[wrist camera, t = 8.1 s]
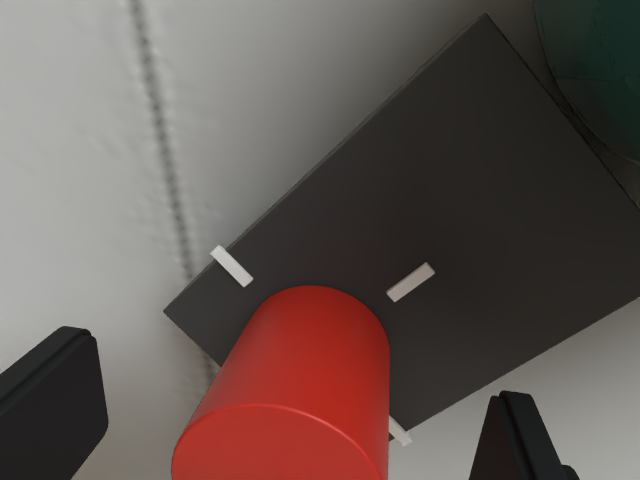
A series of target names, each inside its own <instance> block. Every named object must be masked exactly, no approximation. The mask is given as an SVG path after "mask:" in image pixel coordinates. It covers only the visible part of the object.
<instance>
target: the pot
mask: <svg viewBox="0 0 640 480" xmlns="http://www.w3.org/2000/svg"><path fill="white" fill-rule="evenodd" d="M533 1H534V8H535V15H536V22H537V29H538V33H539V36H540V40H541V43H542V47H543V50H544V53H545V57H546V60H547V63H548V65H549V67H550V69H551V72H552V74H553V76H554V78H555V80H556V82H557V85H558V87H559V89H560V91H561V92H562V94H563V95H564V97H565V98H566V100H567V101H568V103H569V104H570V106H571V107H572V109H573V110H574V112H575V113H576V115H577V116H578V117H579V118H580V119H581V120H582V121H583V122H584V124H585V125H586V126H587V127H588V128H589V129H590V130H591V131H592V132H593V133H594V135H595V136H596V137H598V138H599V139H600V140H601V141H603V142H604V144H605V145H606V146H607V147H608V149H609V150H610V151H612V152H613V153H614V154H616V155H618V156H620V157H622V158H624V159H627V160H629V161H631V162H633V163H634V164H636V165H638V166H640V0H533Z"/></svg>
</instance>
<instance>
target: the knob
mask: <svg viewBox="0 0 640 480" xmlns="http://www.w3.org/2000/svg"><path fill="white" fill-rule="evenodd" d="M389 385H390V348H389V343H388V339H387V336H386V333H385V331H384V329H383V327H382V325H381V323H380V322H379V320H378V319H377V317H376V316H375V315H374V314H373V313H372V312H371V311H370V310H369V308H367V307H366V306H365V305H364V304H363V303H361V302H360V301H359V300H357V299H356V298H354V297H352V296H351V295H348V294H346V293H344V292H342V291H339V290H336V289H333V288H329V287H325V286H316V285H304V286H297V287H292V288H288V289H285V290H282V291H280V292H278V293H276V294H274V295H272V296H271V297H269V298H268V299H267V300H265V301H264V302H263V303H262V304H261V305H260V306H259V307H258V308H257V309H256V311H255V312H254V314H253V315H252V317H251V319H250V320H249V322H248V324H247V325H246V327H245V329H244V330H243V332H242V334H241V335H240V337H239V339H238V341H237V342H236V344H235V346H234V347H233V349H232V351H231V352H230V354H229V356H228V357H227V359H226V361H225V362H224V364H223V366H222V367H221V369H220V371H219V372H218V374H217V376H216V377H215V379H214V381H213V382H212V384H211V386H210V387H209V389H208V391H207V393H206V394H205V396H204V398H203V399H202V401H201V403H200V404H199V406H198V408H197V409H196V411H195V413H194V414H193V416H192V418H191V419H190V421H189V423H188V424H187V426H186V428H185V429H184V431H183V433H182V434H181V436H180V438H179V440H178V442H177V444H176V446H175V449H174V452H173V456H172V464H171V475H172V480H388V446H389Z"/></svg>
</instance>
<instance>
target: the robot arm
mask: <svg viewBox="0 0 640 480" xmlns="http://www.w3.org/2000/svg"><path fill="white" fill-rule="evenodd" d="M107 428H108V414H107V407H106V401H105V394H104V388H103V381H102V374H101V368H100V361H99V355H98V348H97V342H96V339H95V338H94V337H93V336H91V333H90V332H89V330H87V329H81V328H75V327H68V326H63V327H60V328H59V329H57V330H56V331H55V332H53V333H52V334H51V335H50V336H48V337H47V338H46V339H44V340H43V341H42V342H41V343H39V344H38V345H37V346H36V347H34V348H33V349H32V350H31V351H29V352H28V353H27V354H25V355H24V356H23V357H22V358H20V359H19V360H18V361H17V362H15V363H14V364H13V365H12V366H10V367H9V368H8V369H6V370H5V371H4V372H3V373H1V374H0V480H71V478H72V477H73V476H74V474H75V473H76V472H77V471H78V469H79V468H80V467H81V465H82V464H83V463H84V462H85V460H86V459H87V458H88V456H89V455H90V454H91V452H92V451H93V450H94V449H95V447H96V446H97V445H98V443H99V442H100V441H101V440H102V438H103V437H104V435H105V433H106V431H107ZM469 480H580V479H579V477H578V475H577V474H576V472H575V470H574V469H573V468H571V467H570V466H567V465H561V462H560V460H559V458H558V455H557V453H556V451H555V448H554V446H553V444H552V441H551V439H550V437H549V434H548V432H547V430H546V428H545V425H544V423H543V421H542V418H541V416H540V414H539V411H538V409H537V407H536V404H535V402H534V400H533V398H532V396H531V395H529V394H525V393H518V392H511V391H505V390H503V391H501V392H500V394H499V397H498V396H492V397H491V398H490V401H489V405H488V409H487V413H486V417H485V420H484V424H483V428H482V432H481V435H480V439H479V443H478V447H477V451H476V454H475V458H474V462H473V466H472V469H471V473H470V477H469Z"/></svg>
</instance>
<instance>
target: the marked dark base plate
mask: <svg viewBox="0 0 640 480" xmlns="http://www.w3.org/2000/svg"><path fill="white" fill-rule="evenodd" d="M210 254H211V255H212V256H213V257H214V258H215V260H214V261H213V262H212V263H210V264H209V265H208V266H207V267H206V268H205V269H204V270H203V271H202V272H201V273H200V274H199V275H198V276H197V277H196V278H195V279H194V280H193V281H192V282H191V283H190V284H189V285H188V286H187V287H186V288H185V289H184V290H183V291H182V292H181V293H180V294H179V295H178V296H177V297H176V298H175V299H174V300H173V301H172V302H171V303H170V304H169V305H168V306H167V307H166V308H165V309H164V310H163V312H164V313H165V314H166V315H167V316H168V317H169V318H170V319H171V320H172V321H173V322H174V323H175V324H176V325H177V326H178V327H179V328H181V329H182V330H183V331H184V332H185V333H186V334H187V335H188V336H189V337H190V338H191V339H192V340H193V341H194V342H195V343H196V344H197V345H198V346H200V347H201V348H202V349H203V350H204V351H205V352H206V353H207V354H208V355H209V356H210V357H211V358H212V359H213V360H214V361H215V362H216V363H218V364H219V365H220V366H221V367H222V366H223V364H224V362H225V361H226V359H227V357H228V356H229V354H230V352H231V351H232V349H233V347H234V346H235V344H236V342H237V341H238V339H239V337H240V335H241V334H242V332H243V330H244V329H245V327H246V325H247V324H248V322H249V320H250V319H251V317H252V315H253V314H254V312H255V311H256V309H257V308H258V307H259V306H260V305H261V304H262V303H263V302H264V301H265V300H267V299H268V298H269V297H271V296H272V295H274V294H276V293H278V292H280V291H282V290H285V289H288V288H292V287H297V286H304V285H316V286H325V287H329V288H333V289H336V290H339V291H342V292H344V293H346V294H348V295H351V296H352V297H354V298H356V299H357V300H359V301H360V302H361V303H363V304H364V305H365V306H366V307H367V308H369V310H370V311H371V312H372V313H373V314H374V315H375V316H376V317H377V319H378V320H379V322H380V323H381V325H382V327H383V329H384V331H385V333H386V336H387V339H388V343H389V348H390V385H389V441H391V440H392V439H394V438H396V439H397V440H398V441H399V442H400V443H401V444H402V445H403V446H404V447H405V446H407V445H408V444H410V443H412V442H413V438H412V437H411V436H410V435H409V434H408V433H407V432H406V431H408V430H410V429H411V428H413V427H415V426H417V425H418V424H420V423H422V422H424V421H425V420H427V419H429V418H431V417H432V416H434V415H436V414H437V413H439V412H441V411H443V410H444V409H446V408H448V407H450V406H451V405H453V404H455V403H456V402H458V401H460V400H462V399H463V398H465V397H467V396H469V395H470V394H472V393H474V392H476V391H477V390H479V389H481V388H482V387H484V386H486V385H488V384H489V383H491V382H493V381H495V380H496V379H498V378H500V377H501V376H503V375H505V374H507V373H508V372H510V371H512V370H514V369H515V368H517V367H519V366H521V365H522V364H524V363H526V362H527V361H529V360H531V359H533V358H534V357H536V356H538V355H540V354H541V353H543V352H545V351H546V350H548V349H550V348H552V347H553V346H555V345H557V344H559V343H560V342H562V341H564V340H566V339H567V338H569V337H571V336H572V335H574V334H576V333H578V332H579V331H581V330H583V329H585V328H586V327H588V326H590V325H591V324H593V323H595V322H597V321H598V320H600V319H602V318H604V317H605V316H607V315H609V314H610V313H612V312H614V311H616V310H617V309H619V308H621V307H623V306H624V305H626V304H628V303H630V302H631V301H633V300H635V299H636V298H638V297H640V209H639V208H638V207H637V206H636V204H635V203H634V202H633V200H632V199H631V198H630V197H629V195H628V194H627V193H626V191H625V190H624V189H623V188H622V186H621V185H620V184H619V182H618V181H617V180H616V179H615V177H614V176H613V175H612V173H611V172H610V171H609V170H608V168H607V167H606V166H605V165H604V163H603V162H602V161H601V159H600V158H599V157H598V156H597V154H596V153H595V152H594V150H593V149H592V148H591V147H590V145H589V144H588V143H587V141H586V140H585V139H584V138H583V136H582V135H581V134H580V132H579V131H578V130H577V129H576V127H575V126H574V125H573V123H572V122H571V121H570V120H569V118H568V117H567V116H566V115H565V113H564V112H563V111H562V109H561V108H560V107H559V106H558V104H557V103H556V102H555V100H554V99H553V98H552V97H551V95H550V94H549V93H548V91H547V90H546V89H545V88H544V86H543V85H542V84H541V82H540V81H539V80H538V79H537V77H536V76H535V75H534V74H533V72H532V71H531V70H530V68H529V67H528V66H527V65H526V63H525V62H524V61H523V59H522V58H521V57H520V56H519V54H518V53H517V52H516V50H515V49H514V48H513V47H512V45H511V44H510V43H509V41H508V40H507V39H506V38H505V36H504V35H503V34H502V33H501V31H500V30H499V29H498V27H497V26H496V25H495V24H494V22H493V21H492V20H491V18H490V17H489V16H488V15H487V14H486V13H485V14H483V15H481V16H480V17H479V18H477V19H476V20H474V21H473V22H471V23H470V24H469V25H467V26H466V27H464V28H463V29H462V30H461V31H460V32H459V33H458V34H457V35H456V36H455V37H454V38H453V39H451V40H450V41H449V42H448V43H447V44H446V45H445V46H444V47H443V48H442V49H441V50H440V51H439V52H437V53H436V54H435V55H434V56H433V57H432V58H431V59H430V60H429V61H428V62H427V63H426V64H425V65H423V66H422V67H421V68H420V69H419V70H418V71H417V72H416V73H415V74H414V75H413V76H412V77H411V78H409V79H408V80H407V81H406V82H405V83H404V84H403V85H402V86H401V87H400V88H399V89H398V90H397V91H395V92H394V93H393V94H392V95H391V96H390V97H389V98H388V99H387V100H386V101H385V102H384V103H383V104H382V105H380V106H379V107H378V108H377V109H376V110H375V111H374V112H373V113H372V114H371V115H370V116H369V117H368V118H366V119H365V120H364V121H363V122H362V123H361V124H360V125H359V126H358V127H357V128H356V129H355V130H354V131H352V132H351V133H350V134H349V135H348V136H347V137H346V138H345V139H344V140H343V141H342V142H341V143H340V144H338V145H337V146H336V147H335V148H334V149H333V150H332V151H331V152H330V153H329V154H328V155H327V156H326V157H324V158H323V159H322V160H321V161H320V162H319V163H318V164H317V165H316V166H315V167H314V168H313V169H312V170H311V171H309V172H308V173H307V174H306V175H305V176H304V177H303V178H302V179H301V180H300V181H299V182H298V183H297V184H295V185H294V186H293V187H292V188H291V189H290V190H289V191H288V192H287V193H286V194H285V195H284V196H283V197H281V198H280V199H279V200H278V201H277V202H276V203H275V204H274V205H273V206H272V207H271V208H270V209H269V210H267V211H266V212H265V213H264V214H263V215H262V216H261V217H260V218H259V219H258V220H257V221H256V222H255V223H253V224H252V225H251V226H250V227H249V228H248V229H247V230H246V231H245V232H244V233H243V234H242V235H241V236H240V237H238V238H237V239H236V240H235V241H234V242H233V243H232V244H231V245H230V246H229V247H228V248H227V249H226V250H225V249H224V248H223V247H222V246H221V245H218V246H217V247H216V248H215V249H214V250H213V251H212V252H211V253H210Z"/></svg>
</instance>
